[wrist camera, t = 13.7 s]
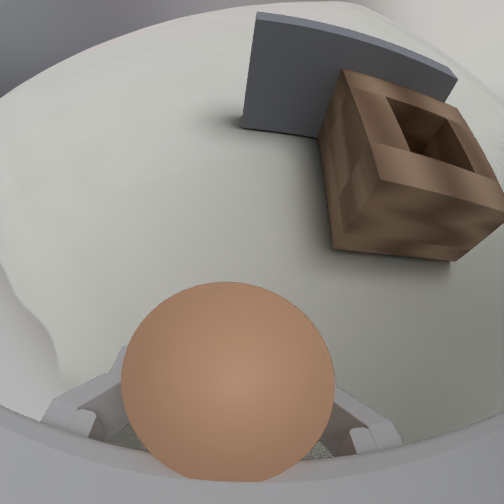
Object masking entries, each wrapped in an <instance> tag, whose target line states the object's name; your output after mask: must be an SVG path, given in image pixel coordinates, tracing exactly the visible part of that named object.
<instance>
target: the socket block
mask: <svg viewBox="0 0 504 504" xmlns="http://www.w3.org/2000/svg"><path fill="white" fill-rule="evenodd" d="M318 140H319V146H320V152H321V159H322V165H323V172H324V179H325V187H326V194H327V202H328V211H329V220H330V229H331V238H332V249H338V250H348V251H358V252H368V253H378V254H387V255H397V256H407V257H416V258H425V259H435V260H444V261H453V262H455V261H457V260H458V259H459V258H461V257H462V256H463V255H465V254H466V253H467V252H469V251H470V250H471V249H472V248H474V247H475V246H476V245H477V244H479V243H480V242H481V241H482V240H484V239H485V238H486V237H487V236H489V235H490V234H491V233H492V232H493V231H495V230H496V229H497V228H498V227H499V226H500V225H502V224H503V223H504V193H503V191H502V189H501V186H500V184H499V182H498V180H497V178H496V176H495V174H494V172H493V170H492V168H491V166H490V164H489V162H488V160H487V158H486V156H485V154H484V152H483V151H482V149H481V147H480V145H479V143H478V142H477V140H476V138H475V137H474V135H473V133H472V131H471V130H470V128H469V127H468V125H467V123H466V122H465V120H464V119H463V117H462V115H461V114H460V112H459V111H458V109H457V108H455V107H453V106H451V105H449V104H446V103H444V102H442V101H439V100H437V99H435V98H432V97H430V96H427V95H425V94H422V93H420V92H417V91H414V90H412V89H409V88H406V87H403V86H400V85H398V84H395V83H392V82H389V81H385V80H382V79H379V78H376V77H373V76H369V75H366V74H362V73H359V72H355V71H351V70H347V69H343V68H342V69H341V72H340V75H339V77H338V80H337V83H336V86H335V89H334V92H333V94H332V97H331V100H330V103H329V106H328V108H327V111H326V114H325V117H324V119H323V122H322V125H321V128H320V130H319V133H318Z"/></svg>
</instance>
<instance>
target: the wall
mask: <svg viewBox="0 0 504 504" xmlns="http://www.w3.org/2000/svg"><path fill="white" fill-rule="evenodd" d="M342 68H343V69H347V70H351V71H355V72H359V73H362V74H366V75H369V76H373V77H376V78H379V79H382V80H385V81H389V82H392V83H395V84H398V85H400V86H403V87H406V88H409V89H412V90H414V91H417V92H420V93H422V94H425V95H427V96H430V97H432V98H435V99H437V100H439V101H442V102H445V101H446V99H447V97H448V96H449V94H450V92H451V91H452V89H453V87H454V86H455V84H456V82H457V81H458V79H457V77H456V76H455V75H454V74H453V73H452V71H451V70H450V69H449V68H448V67H446V66H444V65H442V64H440V63H438V62H436V61H434V60H432V59H429V58H427V57H425V56H423V55H420V54H418V53H415V52H413V51H411V50H408V49H406V48H403V47H400V46H398V45H395V44H392V43H390V42H387V41H384V40H381V39H378V38H375V37H372V36H369V35H366V34H363V33H359V32H356V31H353V30H349V29H345V28H342V27H338V26H334V25H330V24H326V23H321V22H317V21H312V20H307V19H302V18H297V17H291V16H285V15H279V14H272V13H264V12H257V14H256V21H255V28H254V35H253V42H252V49H251V56H250V63H249V70H248V78H247V85H246V93H245V101H244V109H243V117H242V127H241V128H251V129H260V130H268V131H276V132H283V133H290V134H297V135H303V136H309V137H315V138H318V133H319V130H320V128H321V125H322V122H323V119H324V117H325V114H326V111H327V108H328V106H329V103H330V100H331V97H332V94H333V92H334V89H335V86H336V83H337V80H338V77H339V75H340V72H341V69H342Z"/></svg>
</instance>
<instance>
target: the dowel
mask: <svg viewBox="0 0 504 504" xmlns="http://www.w3.org/2000/svg"><path fill="white" fill-rule="evenodd" d="M121 390H122V399H123V403H124V407H125V411H126V414H127V417H128V419H129V422H130V424H131V426H132V428H133V430H134V432H135V433H136V435H137V437H138V438H139V440H140V441H141V442H142V444H143V445H144V446H145V447H146V449H147V450H148V451H149V452H150V453H151V454H152V455H153V456H154V457H155V458H156V459H157V460H159V461H160V462H161V463H163V464H164V465H165V466H167V467H168V468H170V469H171V470H173V471H175V472H177V473H178V474H180V475H182V476H185V477H187V478H190V479H198V480H210V481H227V482H261V481H265V480H268V479H270V478H272V477H275V476H277V475H279V474H281V473H283V472H285V471H286V470H288V469H290V468H291V467H293V466H294V465H295V464H296V463H298V462H299V461H300V460H301V459H303V458H304V457H305V456H306V455H307V454H308V452H309V451H310V450H311V449H312V448H313V447H314V445H315V444H316V443H317V441H318V440H319V438H320V437H321V435H322V433H323V431H324V429H325V427H326V426H327V423H328V420H329V418H330V415H331V412H332V407H333V402H334V394H335V378H334V370H333V365H332V360H331V357H330V354H329V351H328V348H327V346H326V344H325V342H324V340H323V338H322V336H321V335H320V333H319V332H318V330H317V329H316V327H315V326H314V324H313V323H312V322H311V321H310V320H309V319H308V317H307V316H306V315H305V314H304V313H303V312H302V311H300V310H299V309H298V308H297V307H296V306H295V305H293V304H292V303H290V302H289V301H288V300H286V299H285V298H283V297H281V296H279V295H277V294H275V293H274V292H271V291H268V290H266V289H263V288H261V287H257V286H253V285H249V284H243V283H236V282H217V283H208V284H203V285H198V286H195V287H192V288H189V289H186V290H183V291H181V292H179V293H177V294H175V295H173V296H171V297H170V298H168V299H167V300H165V301H164V302H162V303H161V304H159V305H158V306H157V307H156V308H155V309H154V310H152V311H151V312H150V313H149V314H148V315H147V317H146V318H145V319H144V320H143V321H142V322H141V324H140V325H139V327H138V328H137V330H136V331H135V333H134V334H133V336H132V338H131V341H130V343H129V345H128V347H127V350H126V353H125V356H124V360H123V366H122V372H121Z"/></svg>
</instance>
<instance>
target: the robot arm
mask: <svg viewBox="0 0 504 504" xmlns="http://www.w3.org/2000/svg"><path fill="white" fill-rule="evenodd" d="M126 350H127V346H124V347H122V349H121V351H120V352H119V354H118V356H117V358H116V360H115V362H114V364H113V366H112V368H111V370H110V372H109V374H107V373H104V374H102V375H100V376H98V377H96V378H95V379H93V380H91V381H89V382H87V383H85V384H83V385H81V386H79V387H77V388H75V389H73V390H71V391H69V392H67V393H65V394H63V395H61V396H59V397H57V398H55V399H53V401H52V403H51V405H50V406H49V408H48V410H47V411H46V413H45V415H44V417H43V418H42V420H41V422H38V421H36V420H33V419H31V418H28V417H26V416H24V415H21V414H19V413H16V412H14V411H12V410H10V409H8V408H5V407H3V406H1V405H0V504H504V412H501V413H499V414H497V415H495V416H492V417H490V418H487V419H485V420H482V421H480V422H477V423H475V424H472V425H469V426H466V427H464V428H461V429H458V430H455V431H452V432H449V433H446V434H442V435H439V436H436V437H432V438H429V439H425V440H421V441H418V442H414V443H410V444H406V445H404V444H403V442H402V440H401V438H400V436H399V434H398V432H397V430H396V428H395V426H394V424H393V422H392V421H390V420H388V419H387V418H385V417H384V416H382V415H380V414H379V413H377V412H376V411H374V410H373V409H371V408H369V407H368V406H366V405H365V404H363V403H362V402H360V401H359V400H357V399H356V398H354V397H353V396H351V395H350V394H348V393H347V392H345V391H344V390H339V389H338V386H337V384H336V382H335V394H334V402H333V407H332V412H331V415H330V418H329V420H328V423H327V426H326V427H325V429H324V431H323V433H322V435H321V437H320V438H319V441H320V442H321V443H322V444H323V445H324V446H325V447H326V448H327V449H328V450H329V451H330V452H331V453H332V454H333V455H334V456H335V457H330V458H320V459H308V460H300V461H299V462H298V463H296V464H295V465H294V466H293V467H291V468H290V469H288V470H286V471H285V472H283V473H281V474H279V475H277V476H275V477H272V478H270V479H268V480H265V481H261V482H227V481H210V480H198V479H190V478H187V477H185V476H182V475H180V474H178V473H177V472H175V471H173V470H171V469H170V468H168V467H167V466H165V465H164V464H163V463H161V462H160V461H159V460H157V459H156V458H155V457H154V456H153V455H152V454H151V453H150V452H148V451H142V450H137V449H132V448H127V447H123V446H118V445H114V444H110V443H106V442H107V441H108V440H109V439H110V438H112V437H113V436H114V435H115V434H116V433H118V432H119V431H120V430H121V429H122V428H124V427H125V426H126V425H127V424H128V423H130V422H129V419H128V417H127V414H126V411H125V407H124V403H123V399H122V390H121V372H122V366H123V360H124V356H125V353H126Z"/></svg>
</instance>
